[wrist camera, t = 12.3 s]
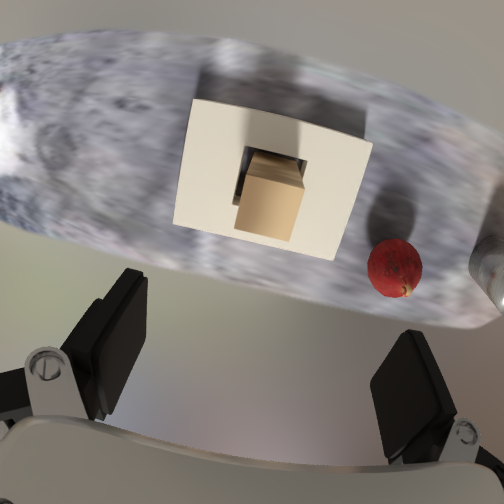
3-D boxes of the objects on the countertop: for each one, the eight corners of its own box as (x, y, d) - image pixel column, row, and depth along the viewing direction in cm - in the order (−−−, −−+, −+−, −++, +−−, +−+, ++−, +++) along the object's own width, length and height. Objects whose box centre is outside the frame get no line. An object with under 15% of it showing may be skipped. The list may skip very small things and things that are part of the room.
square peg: (295, 160, 30) (305, 189, 21) (285, 198, 31) (288, 242, 23) (255, 150, 29) (246, 174, 21) (245, 188, 31) (233, 228, 22)
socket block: (364, 139, 28) (373, 143, 25) (328, 247, 34) (333, 260, 31) (200, 98, 27) (193, 99, 25) (181, 212, 33) (172, 223, 30)
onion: (351, 242, 33) (370, 282, 26) (397, 217, 31) (427, 252, 24) (371, 281, 35) (389, 325, 28) (413, 259, 33) (441, 299, 26)
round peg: (500, 226, 30) (536, 256, 23) (508, 263, 33) (539, 296, 25) (463, 253, 33) (495, 289, 26) (474, 289, 35) (501, 325, 28)
